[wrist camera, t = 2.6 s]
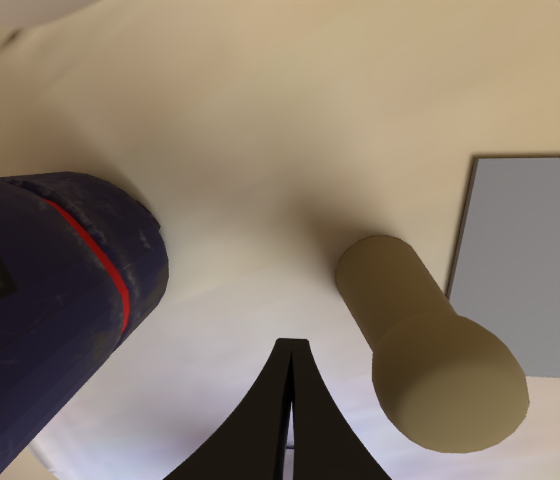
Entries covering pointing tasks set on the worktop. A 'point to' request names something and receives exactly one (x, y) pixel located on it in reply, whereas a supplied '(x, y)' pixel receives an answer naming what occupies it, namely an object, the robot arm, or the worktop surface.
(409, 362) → the cork
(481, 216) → the mat
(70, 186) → the grenade
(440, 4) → the worktop surface
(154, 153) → the worktop surface
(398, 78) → the worktop surface
